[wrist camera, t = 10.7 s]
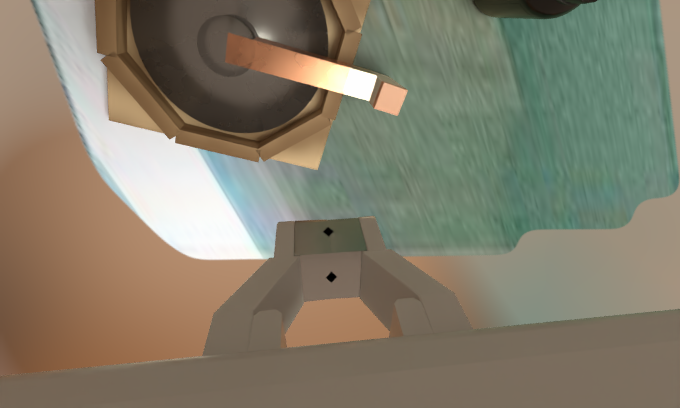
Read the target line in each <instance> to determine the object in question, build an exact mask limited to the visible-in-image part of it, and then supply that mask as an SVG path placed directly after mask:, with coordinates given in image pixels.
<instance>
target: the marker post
mask: <svg viewBox="0 0 680 408" xmlns="http://www.w3.org/2000/svg"><path fill="white" fill-rule="evenodd" d="M372 72H373V73H374V74H376V75H377V78H376V81H375V84H374V88H373V91H372V94H371V97H370V100H369V103H370V104H371V105H372V106H373V108H374V109H377V110H380V111H384V112H387V113H390V114H394V115H397V116H398V114H399V111H400V109H401V106H402V104H403V101H404V99H405V96H406V94H407V92H408V90H407V89H405V88H404V87H403V86H401V85H400V84H398V83H397V82H396V81H394V80H393V79H392V78H390V77H389V76H386V75H383V74H380V73H377V72H374V71H372Z"/></svg>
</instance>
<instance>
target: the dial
mask: <svg viewBox="0 0 680 408" xmlns="http://www.w3.org/2000/svg"><path fill="white" fill-rule="evenodd" d="M130 17H131V27H132V32H133V36H134V41H135V44H136V47H137V50H138V52H139V55H140V58H141V60H142V62H143V64H144V66H145V68H146V70H147V71H148V73H149V75H150V76H151V78H152V79H153V81H154V82H155V84H156V85H157V86H158V88H159V89H160V90H161V91H162V93H163V94H164V95H165V96H166V97H167V98H168V99H169V100H170V101H171V102H172V103H173V104H174V105H176V106H177V107H178V108H179V109H180V110H182V111H183V112H185V113H186V114H187V115H189V116H190V117H192V118H194V119H196V120H197V121H199V122H201V123H203V124H205V125H208V126H210V127H213V128H216V129H220V130H223V131H228V132H234V133H256V132H262V131H267V130H270V129H273V128H276V127H279V126H280V125H282V124H284V123H286V122H288V121H290V120H291V119H292V118H294V117H295V116H297V115H298V114H299V113H300V112H301V111H302V110H303V109H304V108H305V107H306V106H307V104H308V103H309V102H310V101H311V99H312V98H313V96H314V95H315V93H316V91H317V90H318V87H319V88H323V89H327V90H331V91H334V92H338V93H342V94H346V95H349V96H353V97H357V98H360V99H364V100H368V101H369V100H370V97H371V94H372V91H373V88H374V84H375V81H376V78H377V75H376V74H374V73H373V72H372V71H371V70H369V69H366V68H362V67H359V66H356V65H352V64H349V63H345V62H342V61H339V60H335V59H332V58H328V29H327V23H326V18H325V14H324V10H323V7H322V4H321V1H320V0H130Z"/></svg>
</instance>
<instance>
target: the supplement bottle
mask: <svg viewBox="0 0 680 408" xmlns="http://www.w3.org/2000/svg"><path fill="white" fill-rule="evenodd" d="M596 1H597V0H474V2H475V4H476V6H477V7H478V8H479V10H480V11H481V12H483V13H484V14H486V15H488V16H491V17H496V18H523V19H551V18H557V17H560V16H563V15H565V14H567V13H569V12H571V11H572V10H574V9H575V8H576V7H578V6H579V5H580V4H587V3H592V2H596Z"/></svg>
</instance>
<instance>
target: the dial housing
mask: <svg viewBox="0 0 680 408" xmlns="http://www.w3.org/2000/svg"><path fill="white" fill-rule="evenodd" d="M320 1H321V4H322V7H323V10H324V14H325V18H326V23H327V29H328V58H332V59H335V60H339V61H342V62H345V63H349V64H353V61H354V58H355V55H356V52H357V49H358V45H359V42H360V39H361V36H362V34H361V33H360V32H361V29H362V25H363V22H364V19H365V16H366V12H367V9H368V6H369V3H370V0H320ZM95 16H96V38H97V53H100V54H104V55H107V56H106V57H104V58H103V59H101V61H102V62H103V64H104V65H105V66H106V67H107V79H108V110H109V120H110V121H114V122H118V123H123V124H127V125H131V126H135V127H139V128H144V129H148V130H152V131H156V132H160V133H164V134H165V135H166V136H167V137H168V138H169V139H171V138H173V137H175V136H176V140H175V143H178V144H182V145H187V146H191V147H195V148H200V149H204V150H208V151H212V152H217V153H221V154H225V155H230V156H234V157H238V158H243V159H247V160H251V161H255V162H258V161H259V157H261V158H262V160H263V161H266V160H267V159H269V158H270V159H274V160H278V161H282V162H286V163H291V164H295V165H299V166H303V167H307V168H312V169H316V170H318V166H319V163H320V160H321V157H322V154H323V150H324V147H325V144H326V141H327V137H328V134H329V131H330V128H331V125H332V121H333V120H335V118H336V115H337V112H338V109H339V106H340V103H341V99H342V96H343V94H342V93H338V92H334V91H331V90H327V89H323V88H319V87H318V90H317V91H316V93H315V95H314V96H313V98H312V99H311V101H310V102H309V103H308V104H307V106H306V107H305V108H304V109H303V110H302V111H301V112H300V113H299V114H298V115H297V116H295V117H294V118H292V119H291V120H290V121H288V122H286V123H284V124H282V125H280V126H279V127H276V128H273V129H270V130H267V131H262V132H256V133H234V132H228V131H223V130H220V129H216V128H213V127H210V126H208V125H205V124H203V123H201V122H199V121H197V120H196V119H194V118H192V117H190V116H189V115H187V114H186V113H185V112H183V111H182V110H180V109H179V108H178V107H177V106H176V105H174V104H173V103H172V102H171V101H170V100H169V99H168V98H167V97H166V96H165V95H164V94H163V93H162V91H161V90H160V89H159V88H158V86H157V85H156V84H155V82H154V81H153V79H152V78H151V76H150V75H149V73H148V71H147V70H146V68H145V66H144V64H143V62H142V60H141V58H140V55H139V52H138V50H137V47H136V44H135V41H134V36H133V32H132V27H131V17H130V0H95Z"/></svg>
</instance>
